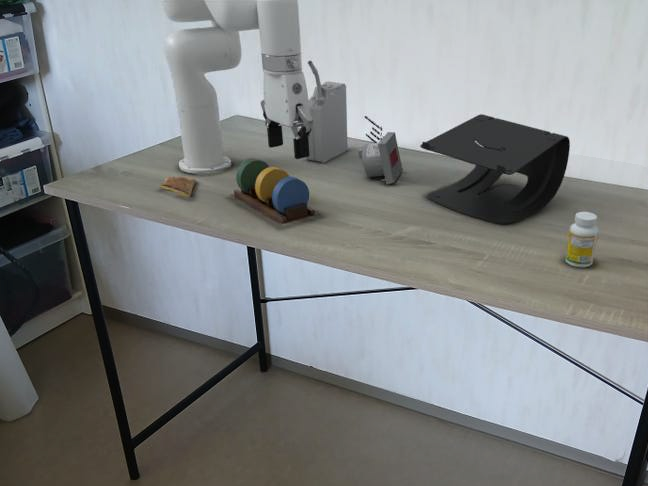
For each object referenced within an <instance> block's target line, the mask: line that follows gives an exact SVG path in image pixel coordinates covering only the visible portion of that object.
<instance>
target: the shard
mask: <svg viewBox="0 0 648 486" xmlns="http://www.w3.org/2000/svg"><path fill="white" fill-rule="evenodd" d="M195 184H196V179H195V178H192V177H187V176H174V177H173V176H168V177H166V178H165V180H164V181H163V182H162V183H161V184H159V188H160V189H163V190H167V191H170V192H172V193H175V194H179V195H181V196H185V197H191V198H192V191H193V189H194V185H195Z"/></svg>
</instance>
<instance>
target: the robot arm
mask: <svg viewBox="0 0 648 486" xmlns="http://www.w3.org/2000/svg"><path fill="white" fill-rule="evenodd" d="M161 3H162V7H163V11H164V13H165V15H166V17H167V18H168V19H169V20H170V21H172V22H175V23H195V22H196V23H197V22H206V21H207V22H208V21H210V22H211V24H212V26H208V27H207V26H206V27H195V28H194V27H193V28H192V27H191V28H184V29H183V28H182V29H178V30H175V31H172V32H171V33H169V34H168V35H167V36H166V37H165V39H164V41H163V51H164V55H165V59H166V63H167V65H168V69H169V73H170V76H171V80H172V85H173V90H174V98H175V103H176V110H177V115H178V123H179V130H180V137H181V143H182V144H181V145H182V150H183V157H184V158H182V159H181V160H179V162H178V167H179V170H181V171H182V172H183V173H186V174H187V173H188V174H193V175H201V174H203V173H208V172H209V173H211V172H217V171H220V170H225V169H228V168H230V167H232V159H231V158H229V157H228V156H226V155H225V152H224V145H223V143H224V142H223V135H222V127H221V126H222V125H221V120H220V119H221V118H220V110H219V102H218V94H217V91H216V88H215V87H214V86H213V84H212V83H211V82H210V80H209V79H207V77H206V76H205V74H208V73H211V72H212V73H213V72H220V71H227V70H233V69H235V68H237V67H238V66H240V63H241V61H242V44H241V43H242V42H241V36H240V32H244V31H255V30H258V31H259V32H258V33H259V42H260V55H261V66H262V72H263V74H262V75H263V77H262V78H263V79H262V82H263V83H262V85H263V87H262V89H263V99H262V100H261V101H260V106H261V110H262V117H263V118H264V119H265V123H264V124H265V127H266V132H267V142H268V143H267V144H268V148H270V149H271V148H277V147H282V146H283V145H284V138H283V137H284V136H283V126H285V127H288V128H290V129H291V131H292V134H293V135H294V138H293V139H292V143H293V153H294V154H293V156H294V159H296V160H300V159H304V158H307V157H309V138H308V137H310V132H311V127H312V123H313V119H312V117H311V116H310V109H309V94H308V87H307V82H306V77H305V74H304V71H303V59H302V45H301V43H302V41H301V29H300V10H299V9H300V8H299V0H161ZM299 128H300V129H299Z"/></svg>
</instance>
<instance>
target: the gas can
mask: <svg viewBox="0 0 648 486" xmlns="http://www.w3.org/2000/svg"><path fill="white" fill-rule="evenodd" d="M307 64H308V66H309V69H311V72H312V75H314V78H315V83H316V86H315V87H314V90H313V93H312V96H311V97H310V98H308V100H309V109H310V116H311V117H312V119H313V123H312V127H311V132H310V137H308V138H309V157H306V160H307V161H313V162H316V163H317V162H318V163H323V164H324V163H327V162H328V161H329V160H332V159H334V158H335V157H337V156H339V155H342V154H343V153H345V152H346V151H348V113H347V112H348V111H347V106H348V105H347V104H348V103H347V85H346V84H345V83H343V82H336V81H330V80H329V81H325V82H324V83H322V84H321V78H320V75H319V71H318V69H317V67H316V66H315V64H314V63H313V60H309V61H307Z"/></svg>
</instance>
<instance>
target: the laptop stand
mask: <svg viewBox="0 0 648 486" xmlns="http://www.w3.org/2000/svg"><path fill="white" fill-rule="evenodd" d="M570 145H571V140H570V138H569V136H568V135H565V134H564V135H563V134H559V133H556V132H551V131H548V130H545V129H540V128H536V127H532V126H529V125H525V124H521V123H518V122H514V121H509V120H505V119H502V118H498V117H493V116H490V115H486V114H482V113H481V114H478V115H475V116H474V117H472V118H470V119H468V120H466V121H463V122H462V123H460V124H458V125H456V126H454V127H452V128H450V129H449V130H447V131H444V132H442V133H441V134H438V135H437V136H435V137H433V138H431V139H429V140H426V141H422V143H421V144H420V145H419V146H420V147H419V148H421V149H423V150H426V151H430V152H433V153H436V154H440V155H443V156H446V157H449V158H451V159H455V160H459V161H461V162H465V163H467V164H471V165H475V166H474V167H473V169H472V170H471V171H470V172H468V174H466V175H465V176H464V177H463V178H461V179H459V180H458V181H456V182H454V183H453V184H450V185H447V186H445V187H442V188H439V189H437V190H435V191H432V192H429V193H428V194H427V195H426V198H427V199H428V200H430V201H431V202H433V203H435V204H438V205H440V206H442V207H444V208H447V209H450V210H452V211H454V212H457V213H460V214H463V215H465V216H469V217H472V218H475V219H478V220H481V221H484V222H488V223H492V224H496V225H511V224H512V225H513V224H515V223H518V222H520V221H522V220H525V219H527V218H529V217H531V216H534V215H536V214H537V213H539V212H541V210H543V209H544V208H545V207H546V206H548V205H549V203H551V202H552V200H553V199H554V198H555V196H556V195H557V193H558V192H559V190H560V187H561V186H562V183H563V180H564V178H565V174H566V171H567V167H568V162H569V157H570V149H571V146H570ZM516 173H517V174H520V175H524V176H526V178H527V182H526V184H525V185H524V187H523V188H521V187H517V186H515V185H511V184H503V185H500V186H497V187H495V188H492V189H489V188H490V187H492V186H493V185H494V184H495V183H496V182H497V181H498V180H500V178H501V177H502V176H503V175H507V176H511V175H512V176H513V175H514V174H516ZM488 189H489V190H488Z"/></svg>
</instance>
